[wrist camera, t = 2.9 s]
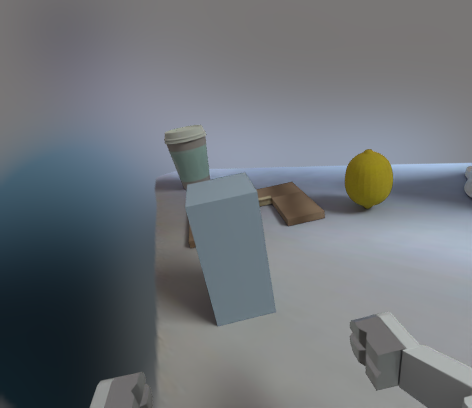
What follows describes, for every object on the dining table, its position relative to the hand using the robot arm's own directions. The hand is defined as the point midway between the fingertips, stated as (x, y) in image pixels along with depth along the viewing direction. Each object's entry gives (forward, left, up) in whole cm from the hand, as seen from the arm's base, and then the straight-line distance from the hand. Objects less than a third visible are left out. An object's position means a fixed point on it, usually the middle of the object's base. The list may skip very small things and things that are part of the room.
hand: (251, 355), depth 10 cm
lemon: (-19, -23, -8) cm, 31 cm away
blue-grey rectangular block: (0, -12, -8) cm, 15 cm away
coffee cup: (+4, -49, -8) cm, 50 cm away
